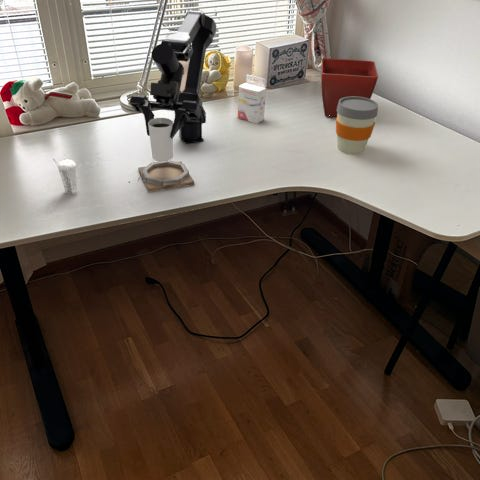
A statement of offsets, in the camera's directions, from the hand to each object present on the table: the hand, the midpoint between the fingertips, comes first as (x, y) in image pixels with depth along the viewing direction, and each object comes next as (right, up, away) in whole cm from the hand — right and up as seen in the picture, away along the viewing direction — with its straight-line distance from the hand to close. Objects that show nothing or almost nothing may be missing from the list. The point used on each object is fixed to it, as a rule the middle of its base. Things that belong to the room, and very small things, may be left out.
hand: (159, 136), depth 140 cm
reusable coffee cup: (+57, +2, +29) cm, 64 cm away
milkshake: (-24, -15, +1) cm, 29 cm away
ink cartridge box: (+25, +15, +46) cm, 55 cm away
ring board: (0, -10, +9) cm, 13 cm away
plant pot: (+60, +19, +54) cm, 83 cm away
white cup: (0, -5, +5) cm, 7 cm away
